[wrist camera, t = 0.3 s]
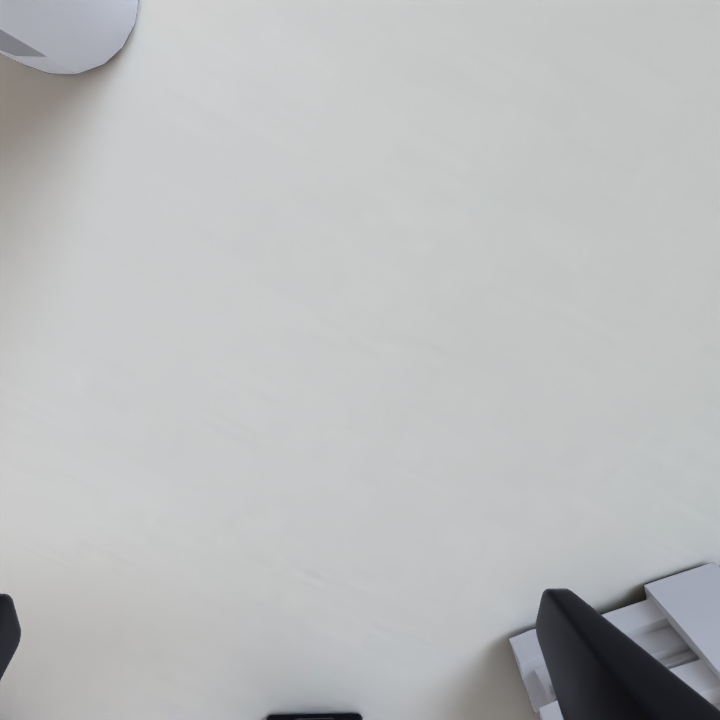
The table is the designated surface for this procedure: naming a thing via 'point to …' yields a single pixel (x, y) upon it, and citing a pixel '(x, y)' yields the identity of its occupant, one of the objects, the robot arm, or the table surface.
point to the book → (650, 637)
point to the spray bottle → (65, 32)
